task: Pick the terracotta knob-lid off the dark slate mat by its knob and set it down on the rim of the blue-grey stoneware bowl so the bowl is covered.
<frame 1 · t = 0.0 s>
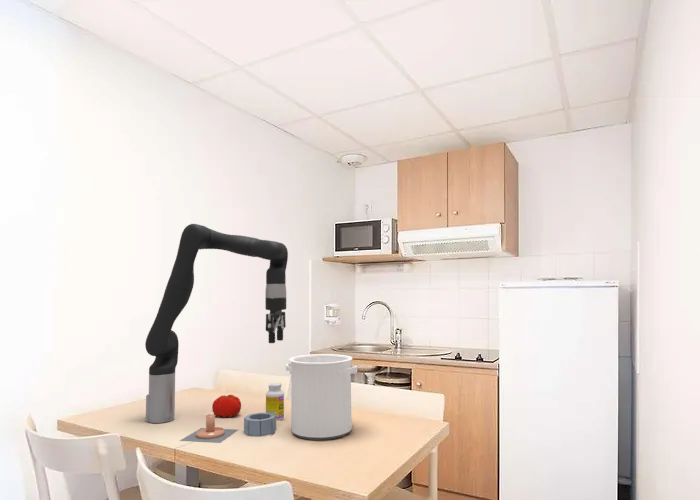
hand: (276, 341, 173), 29 cm above the table, fingers open, 8 cm apart
bucket: (321, 432, 162), on the table
supplement bottle: (274, 420, 178), on the table
tomato: (227, 416, 184), on the table
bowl: (260, 433, 161), on the table
lid: (210, 434, 158), point 1 cm above the table, touching mat
mat: (210, 436, 158), on the table
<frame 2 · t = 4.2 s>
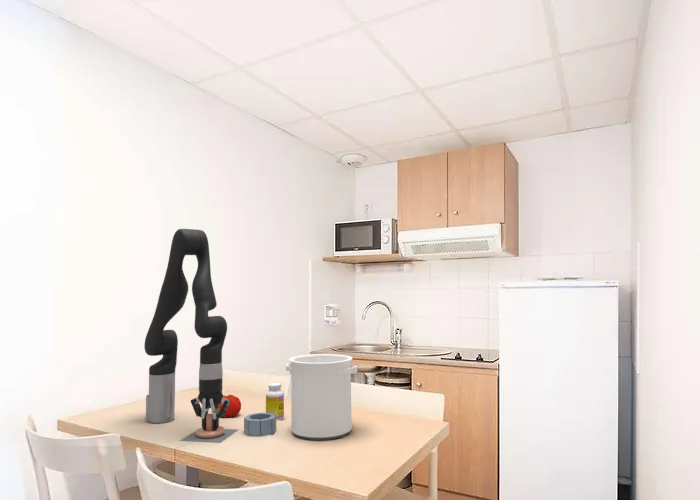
hand: (210, 429, 158), 2 cm above the table, fingers closed on lid, 2 cm apart
lid: (210, 433, 158), point 1 cm above the table, touching gripper
everything else where it was.
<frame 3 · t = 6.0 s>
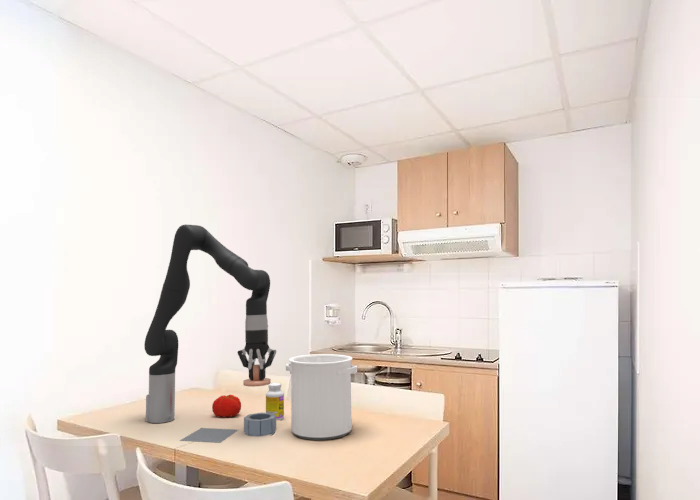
hand: (257, 379, 162), 18 cm above the table, fingers closed on lid, 2 cm apart
lid: (257, 383, 161), point 17 cm above the table, touching gripper
everything else where it was.
when the fingers open (8 cm above the table, at t = 8.4 s): lid drops 1 cm, resting on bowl.
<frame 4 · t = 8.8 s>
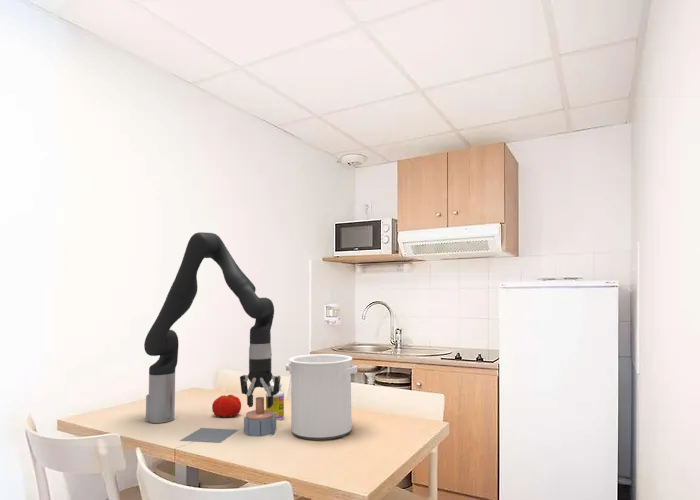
hand: (260, 406, 162), 9 cm above the table, fingers open, 6 cm apart
lid: (259, 416, 162), point 5 cm above the table, touching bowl
everything else where it was.
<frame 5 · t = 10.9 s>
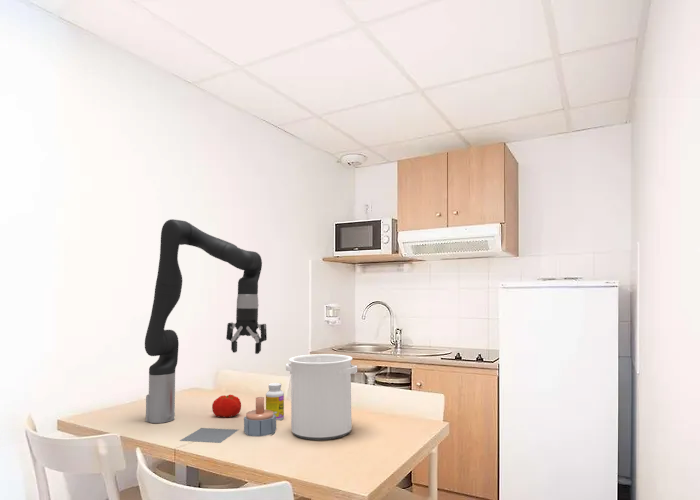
hand: (246, 352, 170), 26 cm above the table, fingers open, 8 cm apart
nothing on the table moved.
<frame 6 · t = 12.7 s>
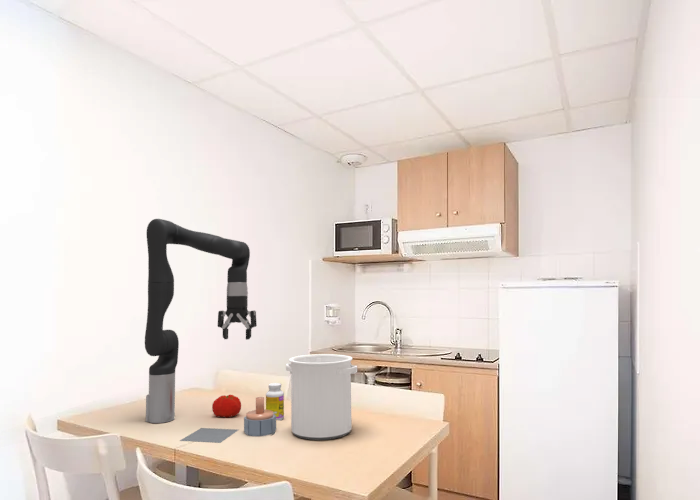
hand: (236, 339, 176), 30 cm above the table, fingers open, 8 cm apart
nothing on the table moved.
at the end: lid 0.1 cm off-centre on the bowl, point 5.5 cm above the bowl's base; lid tilted 0°; the gripper is holding nothing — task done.
